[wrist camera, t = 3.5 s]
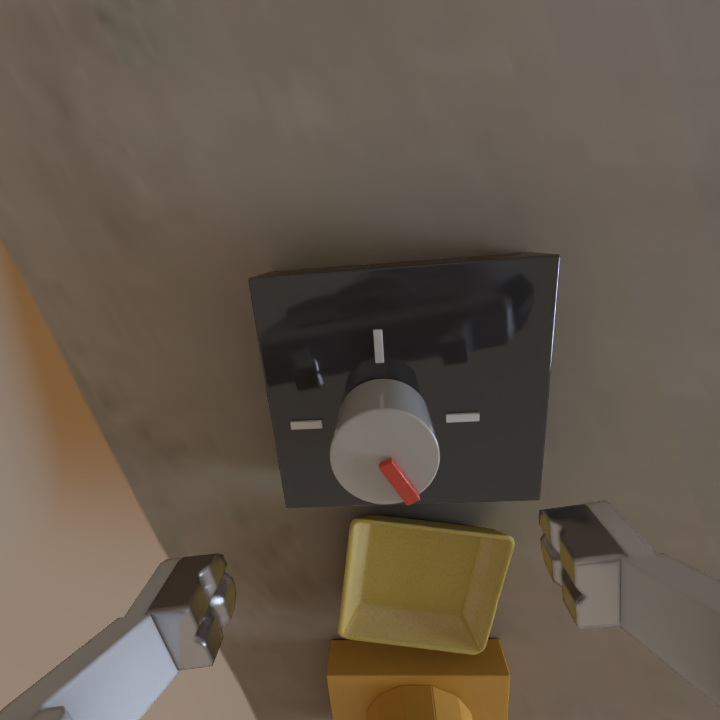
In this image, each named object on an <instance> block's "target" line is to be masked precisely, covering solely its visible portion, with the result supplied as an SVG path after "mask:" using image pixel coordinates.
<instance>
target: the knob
mask: <svg viewBox="0 0 720 720" xmlns="http://www.w3.org/2000/svg"><path fill="white" fill-rule="evenodd" d="M439 463H440V449H439V445H438V441H437V438H436V434H435V431H434V428H433V424H432V421H431V417H430V414H429V410H428V407H427V405H426V403H425V401H424V399H423V398H422V397H421V395H420V394H419V393H418V392H417V391H416V390H415V389H413V388H412V387H410V386H409V385H407V384H405V383H402V382H400V381H396V380H392V379H375V380H371V381H367V382H365V383H362V384H360V385H358V386H357V387H355V388H354V389H353V390H352V391H350V392H349V393H348V395H347V396H346V397H345V398H344V400H343V402H342V404H341V406H340V409H339V412H338V417H337V421H336V425H335V429H334V434H333V438H332V442H331V446H330V464H331V468H332V471H333V473H334V475H335V477H336V479H337V480H338V482H339V483H340V484H341V485H342V486H343V488H344V489H346V490H347V491H348V492H349V493H351V494H352V495H354V496H355V497H357V498H359V499H361V500H364V501H367V502H371V503H375V504H395V503H401V502H405V503H406V505H407V506H409V505H411V504H413V503H415V502H417V501H418V500H420V495H419V494H420V493H421V492H423V491H424V490H425V489H426V488H427V487H428V486H429V485H430V483H431V482H432V481H433V479H434V477H435V475H436V473H437V470H438V468H439Z"/></svg>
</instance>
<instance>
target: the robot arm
mask: <svg viewBox="0 0 720 720" xmlns="http://www.w3.org/2000/svg"><path fill="white" fill-rule="evenodd" d="M539 524H540V526H541V528H542V530H543V531H544V534H543V536H542V537H541V538H540V540H541V549H542V553H543V557H544V561H545V564H546V567H547V569H548V572H549V574H550V576H551V578H552V580H553V582H555V583H556V584H557V585H559V586H560V587H562V593H563V601H564V603H565V605H566V606H567V608H568V610H569V612H570V614H571V616H572V618H573V620H574V622H575V623H576V625H577V627H578V629H581V628H595V627H609V626H621V628H622V629H623V630H624V631H625V632H627V633H628V634H629V635H630V636H632V637H633V638H634V639H635V640H637V641H638V642H639V643H640V644H641V645H643V646H644V647H645V648H646V649H648V650H649V651H650V652H651V653H653V654H654V655H655V656H656V657H658V658H659V659H660V660H661V661H663V662H664V663H665V664H666V665H668V666H669V667H670V668H671V669H673V670H674V671H675V672H676V673H678V674H679V675H680V676H681V677H683V678H684V679H685V680H686V681H687V682H689V683H690V684H691V685H692V686H694V687H695V688H696V689H697V690H699V691H700V692H701V693H702V694H704V695H705V696H706V697H707V698H709V699H710V700H711V701H712V702H714V703H715V704H716V705H717V706H719V707H720V580H718V579H716V578H713V577H711V576H709V575H707V574H705V573H703V572H701V571H699V570H697V569H695V568H693V567H691V566H689V565H687V564H685V563H683V562H681V561H679V560H676V559H674V558H672V557H670V556H668V555H666V554H664V553H659V554H656V553H655V552H654V551H653V550H652V549H651V548H650V547H649V546H648V545H647V543H646V542H645V541H644V540H643V539H642V538H641V537H640V536H639V535H638V534H637V532H636V531H635V530H634V529H633V528H632V527H631V526H630V525H629V524H628V523H627V521H626V520H625V519H624V518H623V517H622V516H621V515H620V514H619V513H618V511H617V510H616V509H615V508H614V507H613V506H612V505H611V504H610V503H609V502H607V501H605V500H604V501H597V502H590V503H584V504H579V505H572V506H565V507H558V508H551V509H544V510H540V511H539ZM226 566H227V563H226V561H225V558H224V556H223V555H222V554H209V555H199V556H190V557H183V558H175V559H166V560H165V561H163V562H162V563H160V565H159V566H158V568H157V569H156V571H155V572H154V574H153V575H152V577H151V578H150V580H149V581H148V583H147V584H146V586H145V587H144V588H143V590H142V591H141V593H140V594H139V596H138V597H137V599H136V600H135V602H134V603H133V605H132V606H131V607H130V609H129V610H128V612H127V614H126V615H125V616H124V617H122V618H117V619H116V620H115V621H114V622H112V623H111V624H110V625H109V626H107V627H106V628H105V629H103V630H102V631H101V632H100V633H98V634H97V635H96V636H95V637H93V638H92V639H91V640H89V641H88V642H87V643H86V644H85V645H83V646H82V647H81V648H79V649H78V650H77V651H75V652H74V653H73V654H72V655H70V656H69V657H68V658H67V659H65V660H64V661H63V662H61V663H60V664H59V665H58V666H56V667H55V668H54V669H53V670H51V671H50V672H49V673H47V675H45V676H44V677H42V678H41V679H40V680H39V681H37V682H36V683H35V684H33V685H32V686H31V687H30V688H28V689H27V690H26V691H25V692H23V693H22V694H21V695H20V696H18V697H17V698H16V699H14V700H13V701H12V702H11V703H9V704H8V705H7V706H6V707H4V708H3V709H2V710H1V711H0V720H140V718H141V717H142V716H143V715H144V713H145V712H146V711H147V710H148V709H149V707H150V706H151V705H152V704H153V703H154V702H155V700H156V699H157V698H158V697H159V696H160V694H161V693H162V692H163V691H164V690H165V688H166V687H167V686H168V685H169V684H170V682H171V681H172V680H173V679H174V678H175V677H176V675H177V674H178V670H186V669H194V668H201V667H208V666H212V665H213V663H214V660H215V658H216V655H217V653H218V650H219V648H220V645H221V643H222V640H223V633H222V629H221V628H222V627H223V626H224V625H225V624H226V623H227V622H228V621H229V620H230V619H231V617H232V614H233V611H234V608H235V602H236V588H235V583H234V581H233V578H232V577H231V576H229V575H228V574H227V573H225V572H224V571H225V569H226Z"/></svg>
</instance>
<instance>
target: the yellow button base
mask: <svg viewBox="0 0 720 720" xmlns="http://www.w3.org/2000/svg"><path fill="white" fill-rule="evenodd" d="M326 676H327V683H328V689H329V696H330V703H331V709H332V716H333V720H507V717H508V702H509V686H510V673H509V670H508V667H507V663H506V660H505V657H504V653H503V650H502V647H501V643H500V640H499V639H488V640H487V644H486V647H485V649H484V650H483V651H482V652H480V653H478V654H476V655H470V654H463V653H453V652H446V651H439V650H430V649H423V648H415V647H406V646H397V645H390V644H381V643H374V642H364V641H356V640H331V642H330V650H329V658H328V667H327V675H326Z"/></svg>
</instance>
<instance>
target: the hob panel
mask: <svg viewBox="0 0 720 720" xmlns="http://www.w3.org/2000/svg"><path fill="white" fill-rule="evenodd" d="M559 264H560V255H558V254H548V253H535V252H523V253H510V254H496V255H483V256H470V257H457V258H444V259H431V260H418V261H405V262H392V263H379V264H366V265H353V266H340V267H326V268H313V269H300V270H287V271H274V272H268V273H264V274H261V275H257V276H254V277H251V278H249V286H250V292H251V298H252V304H253V311H254V317H255V323H256V329H257V335H258V341H259V347H260V353H261V359H262V365H263V371H264V377H265V383H266V389H267V395H268V401H269V407H270V413H271V419H272V426H273V432H274V438H275V444H276V450H277V456H278V462H279V468H280V474H281V480H282V486H283V492H284V498H285V504H286V508H300V507H333V506H365V505H397V504H406V503H405V502H401V503H395V504H375V503H371V502H367V501H364V500H361V499H359V498H357V497H355V496H354V495H352V494H351V493H349V492H348V491H347V490H346V489H344V488H343V486H342V485H341V484H340V483H339V482H338V480H337V479H336V477H335V475H334V473H333V471H332V468H331V464H330V446H331V442H332V438H333V434H334V429H335V425H336V421H337V417H338V412H339V409H340V406H341V404H342V402H343V400H344V398H345V397H346V396H347V395H348V393H349V392H350V391H352V390H353V389H354V388H355V387H357V386H358V385H360V384H362V383H365V382H367V381H371V380H375V379H392V380H396V381H400V382H402V383H405V384H407V385H409V386H410V387H412V388H413V389H415V390H416V391H417V392H418V393H419V394H420V395H421V397H422V398H423V399H424V401H425V403H426V405H427V407H428V410H429V414H430V417H431V421H432V424H433V428H434V431H435V434H436V438H437V441H438V445H439V449H440V463H439V468H438V470H437V473H436V475H435V477H434V479H433V481H432V482H431V483H430V485H429V486H428V487H427V488H426V489H425V490H424V491H423V492H421V493H420V494H419V495H420V500H418V501H417V502H415V503H413V504H429V503H462V502H494V501H526V500H540V492H541V480H542V468H543V456H544V444H545V432H546V420H547V408H548V396H549V384H550V372H551V360H552V348H553V336H554V324H555V312H556V300H557V288H558V276H559Z"/></svg>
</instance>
